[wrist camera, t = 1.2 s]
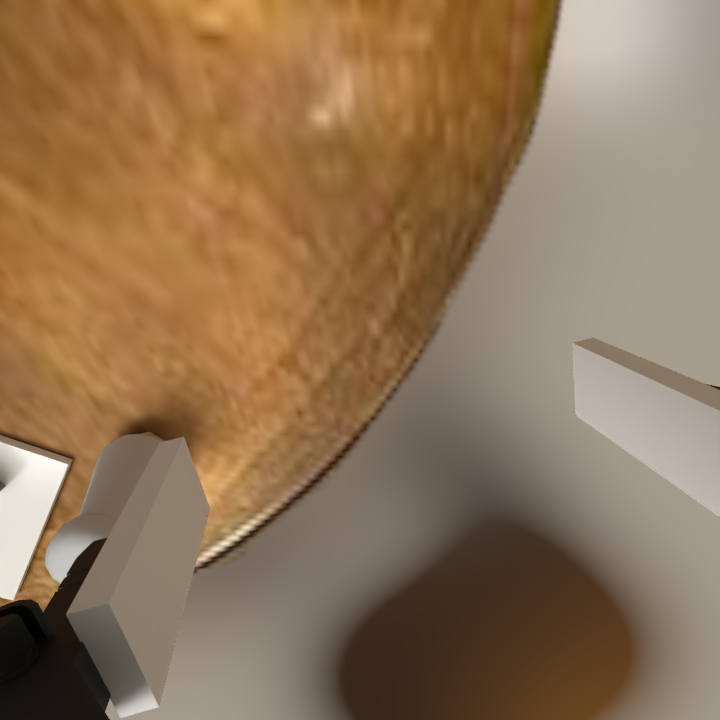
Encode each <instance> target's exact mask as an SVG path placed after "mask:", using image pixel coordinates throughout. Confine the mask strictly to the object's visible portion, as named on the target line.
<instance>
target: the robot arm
mask: <svg viewBox="0 0 720 720" xmlns="http://www.w3.org/2000/svg"><path fill="white" fill-rule="evenodd" d="M572 345H573V366H574V367H573V368H574V389H575V412H576V416H577V417H579V418H580V419H582V420H583V421H584V422H586V423H587V424H589V425H590V426H592V427H593V428H594V429H596V430H597V431H599V432H600V433H601V434H603V435H604V436H606V437H607V438H609V439H610V440H611V441H613V442H614V443H616V444H617V445H618V446H620V447H621V448H623V449H624V450H626V451H627V452H628V453H630V454H631V455H633V456H634V457H636V458H637V459H638V460H640V461H641V462H643V463H644V464H646V465H647V466H648V467H650V468H651V469H652V470H654V471H655V472H657V473H658V474H660V475H661V476H662V477H664V478H665V479H667V480H668V481H669V482H671V483H672V484H674V485H675V486H677V487H678V488H679V489H681V490H682V491H684V492H685V493H686V494H688V495H689V496H691V497H692V498H694V499H695V500H696V501H698V502H699V503H701V504H702V505H703V506H705V507H706V508H708V509H709V510H711V511H712V512H713V513H715V514H716V515H718V516H719V517H720V387H717V386H712V385H708V384H704V383H701V382H699V381H697V380H694V379H692V378H689V377H687V376H684V375H682V374H680V373H677V372H675V371H672V370H670V369H668V368H665V367H663V366H660V365H658V364H656V363H653V362H651V361H648V360H646V359H643V358H641V357H638V356H636V355H634V354H631V353H629V352H626V351H624V350H622V349H619V348H617V347H614V346H612V345H610V344H607V343H605V342H602V341H600V340H597V339H595V338H591V339H587V340H582V341H579V342H574V343H572ZM209 510H210V508H209V505H208V502H207V499H206V496H205V494H204V491H203V488H202V485H201V483H200V480H199V477H198V474H197V471H196V469H195V466H194V463H193V460H192V457H191V455H190V452H189V449H188V446H187V444H186V441H185V438H184V437H180V438H176V439H172V440H168V441H164V442H160V443H159V444H158V446H157V448H156V450H155V452H154V454H153V455H152V457H151V459H150V461H149V463H148V465H147V466H146V468H145V470H144V472H143V474H142V476H141V477H140V479H139V481H138V483H137V485H136V487H135V488H134V490H133V492H132V494H131V496H130V498H129V499H128V501H127V503H126V505H125V507H124V509H123V510H122V512H121V514H120V516H119V518H118V520H117V521H116V523H115V525H114V527H113V529H112V531H111V532H110V534H109V536H108V537H107V538H103V539H100V540H96V541H93V542H92V543H91V544H90V545H89V546H88V547H87V548H86V549H85V550H84V551H83V552H82V553H81V554H80V555H79V556H78V557H77V558H76V559H75V561H74V563H73V564H72V566H71V568H70V569H69V571H68V573H67V574H66V575H67V577H65V578H64V579H63V581H62V582H61V584H60V586H59V587H58V592H55V594H54V596H53V597H52V599H51V601H50V602H49V604H48V606H47V607H46V609H45V611H44V612H42V610H41V608H40V606H39V605H38V603H36V602H34V601H33V600H18V601H15V602H12V603H9V604H6V605H4V606H2V607H0V720H110V719H109V718H108V716H107V715H106V713H105V710H106V707H107V705H108V702H109V699H111V701H112V703H113V705H114V707H115V709H116V710H117V712H118V714H119V716H120V718H122V717H126V716H129V715H132V714H136V713H139V712H143V711H146V710H150V709H153V708H157V707H159V705H160V701H161V697H162V693H163V689H164V685H165V682H166V678H167V674H168V670H169V666H170V661H171V658H172V654H173V650H174V646H175V643H176V639H177V635H178V631H179V626H180V623H181V619H182V615H183V611H184V607H185V603H186V599H187V596H188V592H189V588H190V584H191V580H192V576H193V572H194V568H195V564H196V560H197V557H198V553H199V549H200V545H201V541H202V537H203V533H204V529H205V525H206V521H207V517H208V514H209Z"/></svg>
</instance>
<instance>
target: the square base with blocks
mask: <svg viewBox="0 0 720 720" xmlns="http://www.w3.org/2000/svg"><path fill="white" fill-rule="evenodd" d="M72 460H73V459H70V458H67V457H64V456H61V455H58V454H55V453H52V452H49V451H46V450H43V449H40V448H37V447H34V446H31V445H28V444H25V443H22V442H19V441H16V440H13V439H11V438H8V437H5V436H2V435H0V597H1V598H5V599H9V600H14V598H15V597H16V596H17V594H18V593H19V590H20V588H21V585H22V583H23V580H24V578H25V575H26V573H27V571H28V568H29V566H30V563H31V561H32V558H33V556H34V553H35V551H36V549H37V546H38V544H39V541H40V539H41V536H42V534H43V531H44V529H45V527H46V524H47V522H48V519H49V517H50V514H51V512H52V509H53V507H54V505H55V502H56V500H57V497H58V495H59V492H60V490H61V487H62V485H63V482H64V480H65V478H66V475H67V473H68V470H69V468H70V465H71V463H72Z"/></svg>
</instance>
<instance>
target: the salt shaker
mask: <svg viewBox="0 0 720 720" xmlns="http://www.w3.org/2000/svg"><path fill="white" fill-rule="evenodd" d="M164 441H165V440H164V439H162V438H160V437H158V436H157V435H155V434H153V433H151V432H150V431H149V432H145V433H142V434H129V435H124V436H122V437H120V438H118V439H116V440H114V441H112V442H110V443H109V444H107V445H106V447H105V448H104V450H103V451H102V453H101V454H100V456H99V457H98V459H97V462H96V465H95V468H94V471H93V474H92V477H91V481H90V484H89V487H88V490H87V493H86V496H85V499H84V502H83V505H82V508H81V511H80V514H79V516H78V517H76V518H74V519H72V520H70V521H68V522H66V523H64V524H63V526H62V527H61V528H60V529H59V530H58V532H57V533H56V534H55V536H54V537H53V539H52V540H51V541H50V543H49V545H48V548H47V550H46V557H45V566H46V568H47V569H48V571H49V573H50V575H51V576H52V578H54V579H55V580H56V581H58V582H59V583H61V582H62V581H63V579H64V578H65V577H67V575H66V574H67V573H68V571H69V569H70V568H71V566H72V564H73V563H74V561H75V559H76V558H77V557H78V556H79V555H80V554H81V553H82V552H83V551H84V550H85V549H86V548H87V547H88V546H89V545H90V544H91V543H92V542H93V541H96V540H100V539H103V538H107V537H108V536H109V534H110V532H111V531H112V529H113V527H114V525H115V523H116V521H117V520H118V518H119V516H120V514H121V512H122V510H123V509H124V507H125V505H126V503H127V501H128V499H129V498H130V496H131V494H132V492H133V490H134V488H135V487H136V485H137V483H138V481H139V479H140V477H141V476H142V474H143V472H144V470H145V468H146V466H147V465H148V463H149V461H150V459H151V457H152V455H153V454H154V452H155V450H156V448H157V446H158V444H159V443H160V442H164Z"/></svg>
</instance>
